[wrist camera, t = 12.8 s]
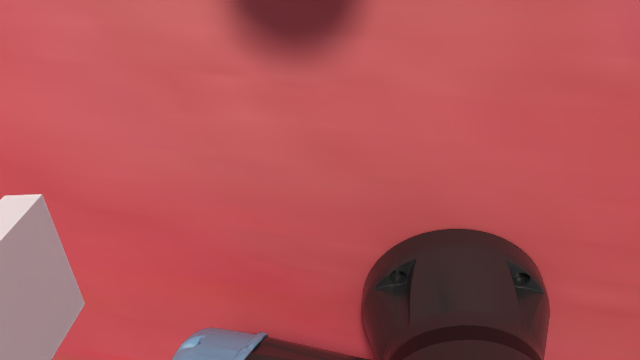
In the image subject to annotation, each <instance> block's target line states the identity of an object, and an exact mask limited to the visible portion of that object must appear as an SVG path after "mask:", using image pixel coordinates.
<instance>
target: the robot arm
mask: <svg viewBox="0 0 640 360" xmlns="http://www.w3.org/2000/svg"><path fill="white" fill-rule="evenodd" d="M84 305H85V303H84V300H83V297H82V295H81V292H80V290H79V287H78V285H77V282H76V280H75V277H74V274H73V272H72V269H71V267H70V264H69V262H68V259H67V257H66V254H65V251H64V249H63V246H62V244H61V241H60V239H59V236H58V233H57V231H56V228H55V226H54V223H53V221H52V218H51V216H50V213H49V210H48V208H47V205H46V203H45V200H44V198H43V195H42V194H36V195H11V196H4V197H3V198H2V199H1V200H0V360H51V359H52V358H53V356H54V355H55V353H56V351H57V350H58V348H59V346H60V345H61V343H62V341H63V340H64V338H65V336H66V335H67V333H68V331H69V330H70V328H71V326H72V325H73V323H74V321H75V320H76V318H77V316H78V315H79V313H80V311H81V310H82V308H83V306H84ZM362 317H363V323H364V328H365V332H366V334H367V337H368V339H369V342H370V344H371V347H372V349H373V351H374V354H375V356H376V359H377V360H544V355H545V347H546V340H547V332H548V325H549V317H550V307H549V299H548V295H547V291H546V288H545V285H544V282H543V279H542V276H541V274H540V272H539V270H538V268H537V266H536V265H535V263H534V262H533V261H532V259H531V258H530V257H529V256H528V255H527V254H526V253H525V252H524V251H523V250H521V249H520V248H519V247H517V246H516V245H514V244H513V243H511V242H509V241H507V240H505V239H503V238H501V237H498V236H496V235H493V234H489V233H486V232H481V231H476V230H468V229H445V230H437V231H432V232H427V233H423V234H420V235H417V236H414V237H412V238H409V239H407V240H405V241H403V242H401V243H399V244H397V245H396V246H394V247H393V248H391V249H390V250H389V251H387V252H386V253H385V254H384V255H383V256H382V257H381V258H380V259H379V260H378V261H377V262H376V263H375V265H374V266H373V267H372V269H371V271H370V272H369V274H368V276H367V279H366V281H365V285H364V289H363V305H362ZM171 360H369V359H364V358H359V357H354V356H349V355H345V354H340V353H336V352H331V351H327V350H323V349H318V348H314V347H309V346H305V345H301V344H296V343H292V342H288V341H283V340H279V339H274V338H270V337H268V334H267V333H264V332H260V333H258V334H251V333H245V332H239V331H233V330H227V329H221V328H205V329H202V330H199V331H197V332H195V333H194V334H192V335H191V336H190V337H188V338H187V339H186V340H185V341H184V342H183V343H182V345H181V346H180V347H179V349H178V350H177V352H176V353H175V355H174V356H173V358H172V359H171Z"/></svg>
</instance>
